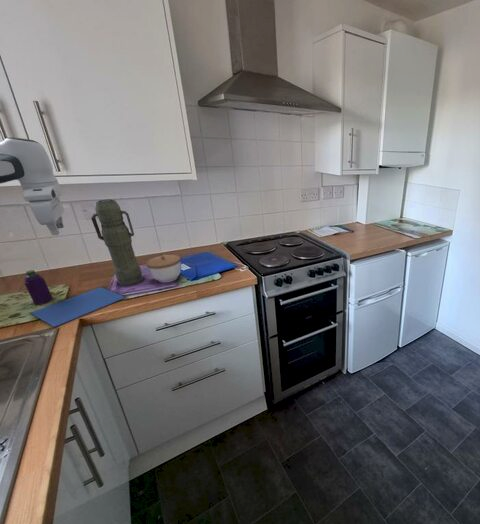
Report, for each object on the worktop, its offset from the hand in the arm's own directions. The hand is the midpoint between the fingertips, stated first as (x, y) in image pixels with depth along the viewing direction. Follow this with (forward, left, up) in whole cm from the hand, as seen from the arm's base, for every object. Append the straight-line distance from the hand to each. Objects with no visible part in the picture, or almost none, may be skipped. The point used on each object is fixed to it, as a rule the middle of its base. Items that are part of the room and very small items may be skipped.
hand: (58, 231), depth 104 cm
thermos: (+17, +1, -28) cm, 33 cm away
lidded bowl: (+26, -11, -28) cm, 40 cm away
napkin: (-3, -3, -28) cm, 28 cm away
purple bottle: (-8, +13, -28) cm, 32 cm away
